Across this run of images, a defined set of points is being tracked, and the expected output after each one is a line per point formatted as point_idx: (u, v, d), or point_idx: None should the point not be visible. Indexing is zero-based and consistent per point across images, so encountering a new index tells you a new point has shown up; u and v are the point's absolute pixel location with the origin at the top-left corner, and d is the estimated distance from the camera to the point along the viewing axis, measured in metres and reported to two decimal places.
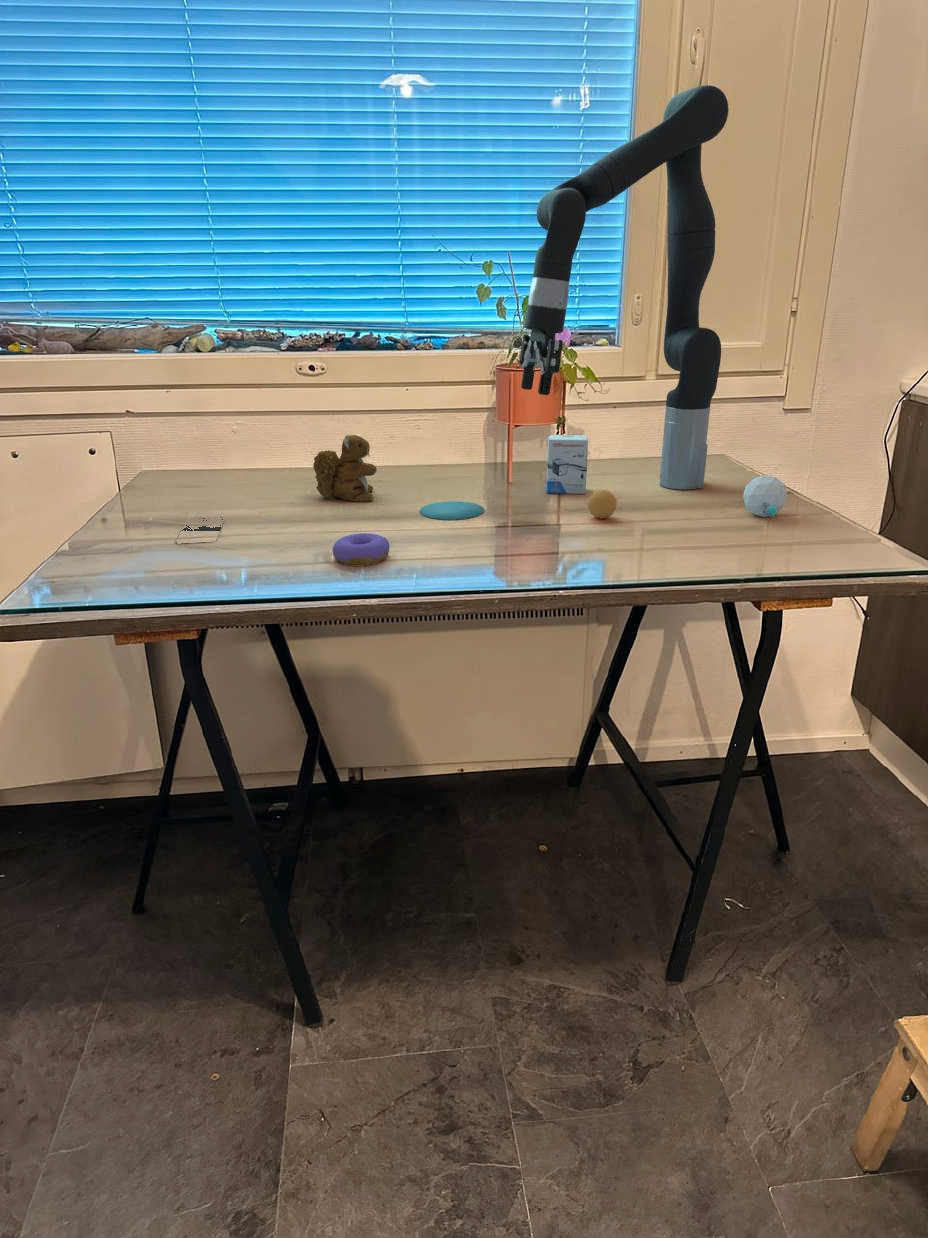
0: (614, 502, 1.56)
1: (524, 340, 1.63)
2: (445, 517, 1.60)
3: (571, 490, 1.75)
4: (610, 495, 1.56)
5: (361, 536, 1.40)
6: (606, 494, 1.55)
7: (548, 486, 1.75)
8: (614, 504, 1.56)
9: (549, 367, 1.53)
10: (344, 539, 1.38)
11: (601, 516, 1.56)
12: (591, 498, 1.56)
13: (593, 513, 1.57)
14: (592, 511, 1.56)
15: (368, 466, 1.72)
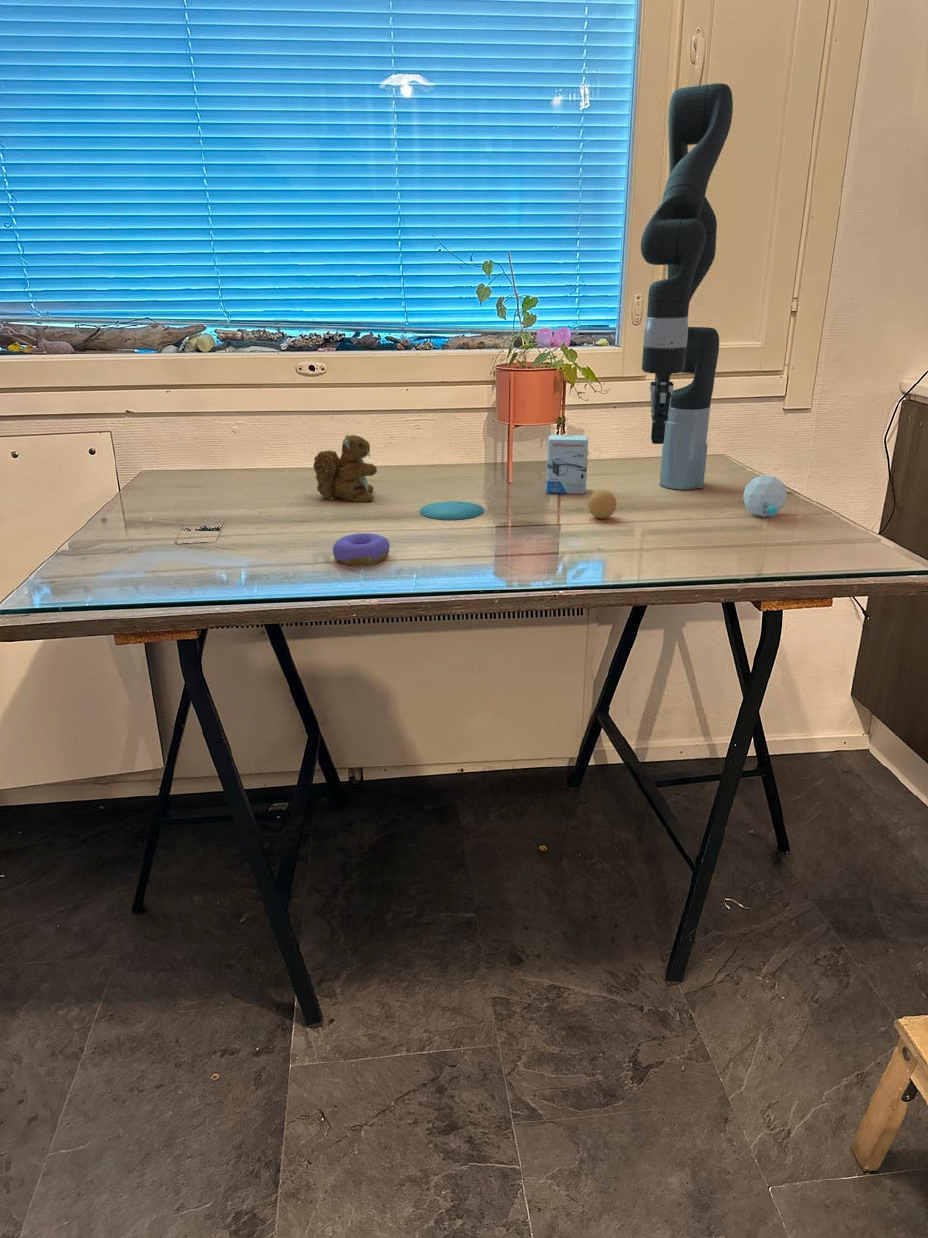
0: (614, 502, 1.56)
1: None
2: (445, 517, 1.60)
3: (571, 490, 1.75)
4: (610, 495, 1.56)
5: (361, 536, 1.40)
6: (606, 494, 1.55)
7: (548, 486, 1.75)
8: (614, 504, 1.56)
9: (655, 416, 1.45)
10: (344, 539, 1.38)
11: (601, 516, 1.56)
12: (591, 498, 1.56)
13: (593, 513, 1.57)
14: (592, 511, 1.56)
15: (368, 466, 1.72)
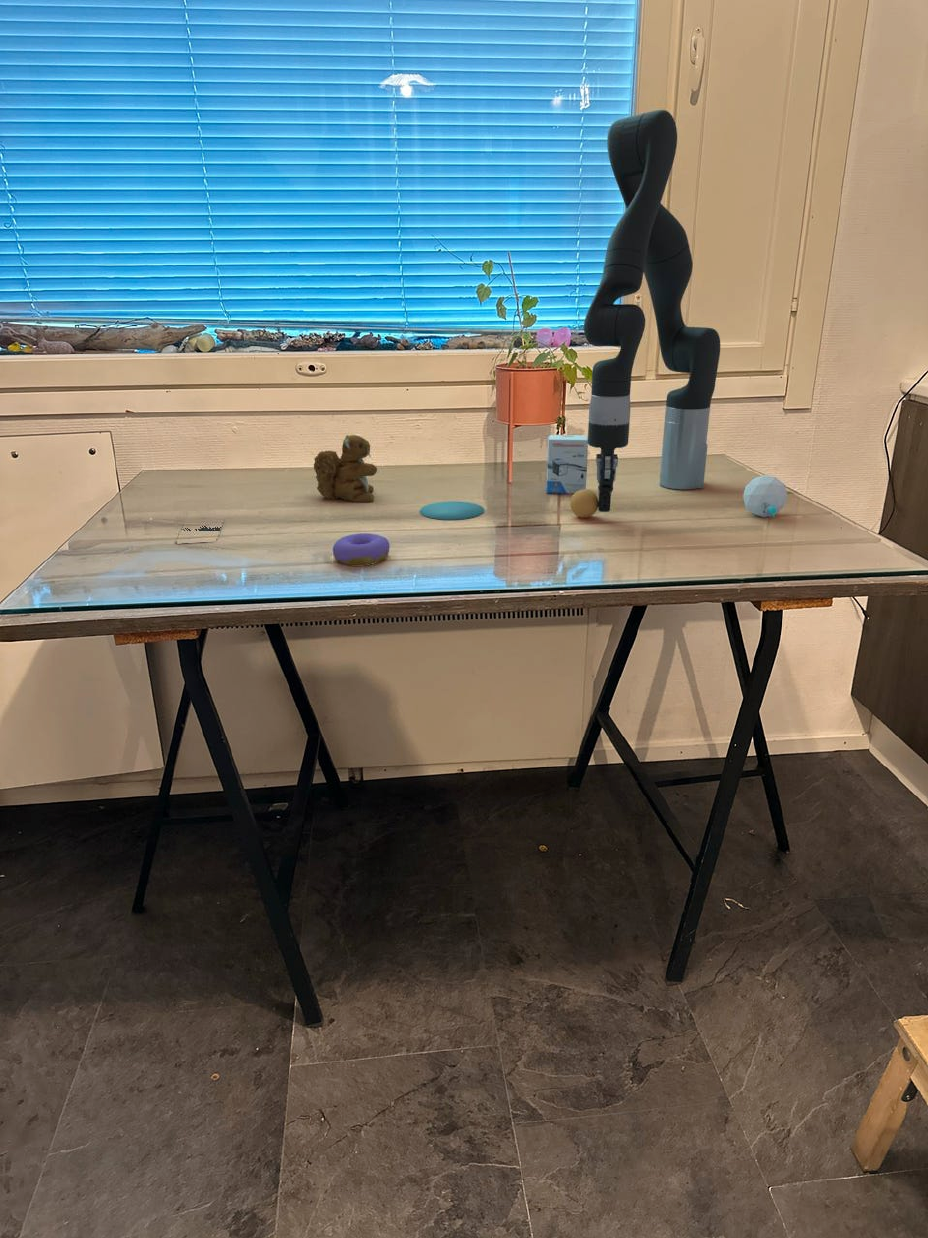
0: (589, 493, 1.56)
1: None
2: (445, 517, 1.60)
3: (571, 490, 1.75)
4: (581, 492, 1.56)
5: (361, 536, 1.40)
6: (577, 493, 1.57)
7: (548, 486, 1.75)
8: (590, 495, 1.56)
9: None
10: (344, 539, 1.38)
11: (590, 512, 1.57)
12: (571, 507, 1.58)
13: (583, 516, 1.57)
14: (580, 515, 1.57)
15: (369, 466, 1.72)
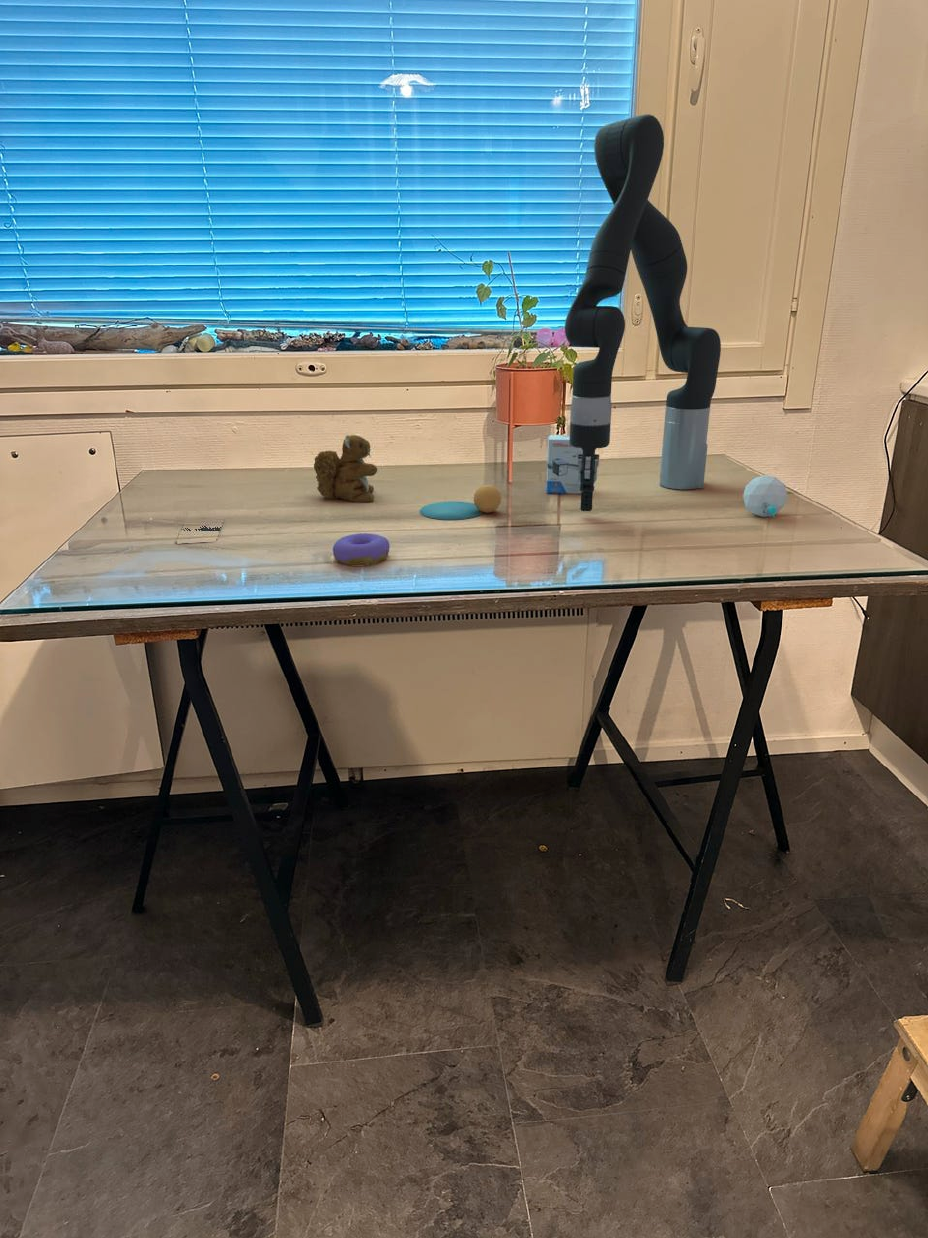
0: (482, 488, 1.61)
1: None
2: (445, 517, 1.60)
3: (571, 490, 1.75)
4: (476, 492, 1.61)
5: (361, 536, 1.40)
6: (474, 495, 1.62)
7: (548, 486, 1.75)
8: (483, 488, 1.61)
9: None
10: (344, 539, 1.38)
11: (494, 501, 1.60)
12: (479, 509, 1.63)
13: (492, 508, 1.61)
14: (490, 509, 1.61)
15: (369, 466, 1.72)
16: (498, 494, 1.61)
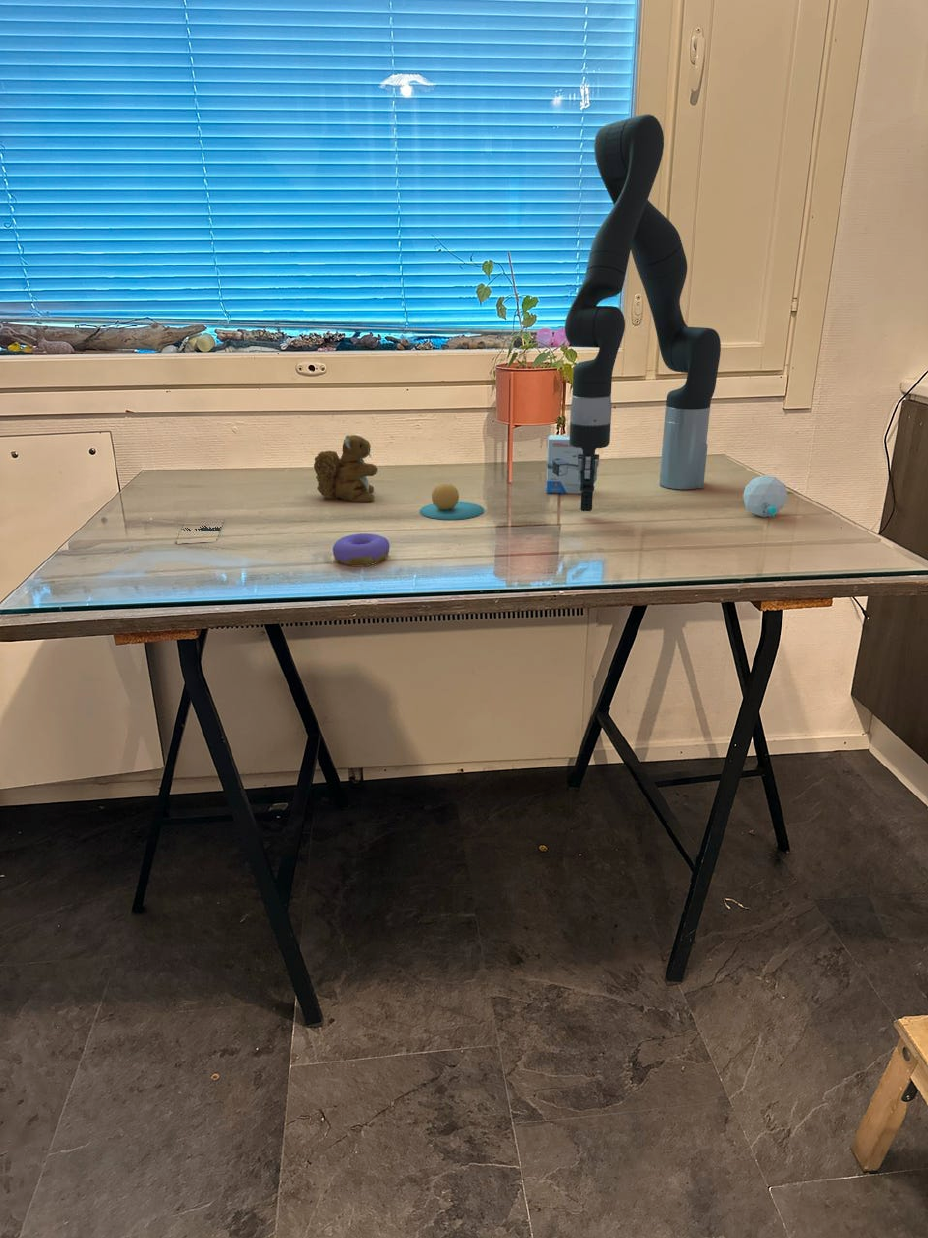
0: (448, 509, 1.64)
1: None
2: (445, 517, 1.60)
3: (571, 490, 1.75)
4: (454, 505, 1.64)
5: (361, 536, 1.40)
6: (455, 502, 1.63)
7: (548, 486, 1.75)
8: (446, 509, 1.64)
9: None
10: (344, 539, 1.38)
11: (433, 499, 1.63)
12: (449, 488, 1.62)
13: (435, 491, 1.63)
14: (437, 490, 1.62)
15: (369, 466, 1.72)
16: None
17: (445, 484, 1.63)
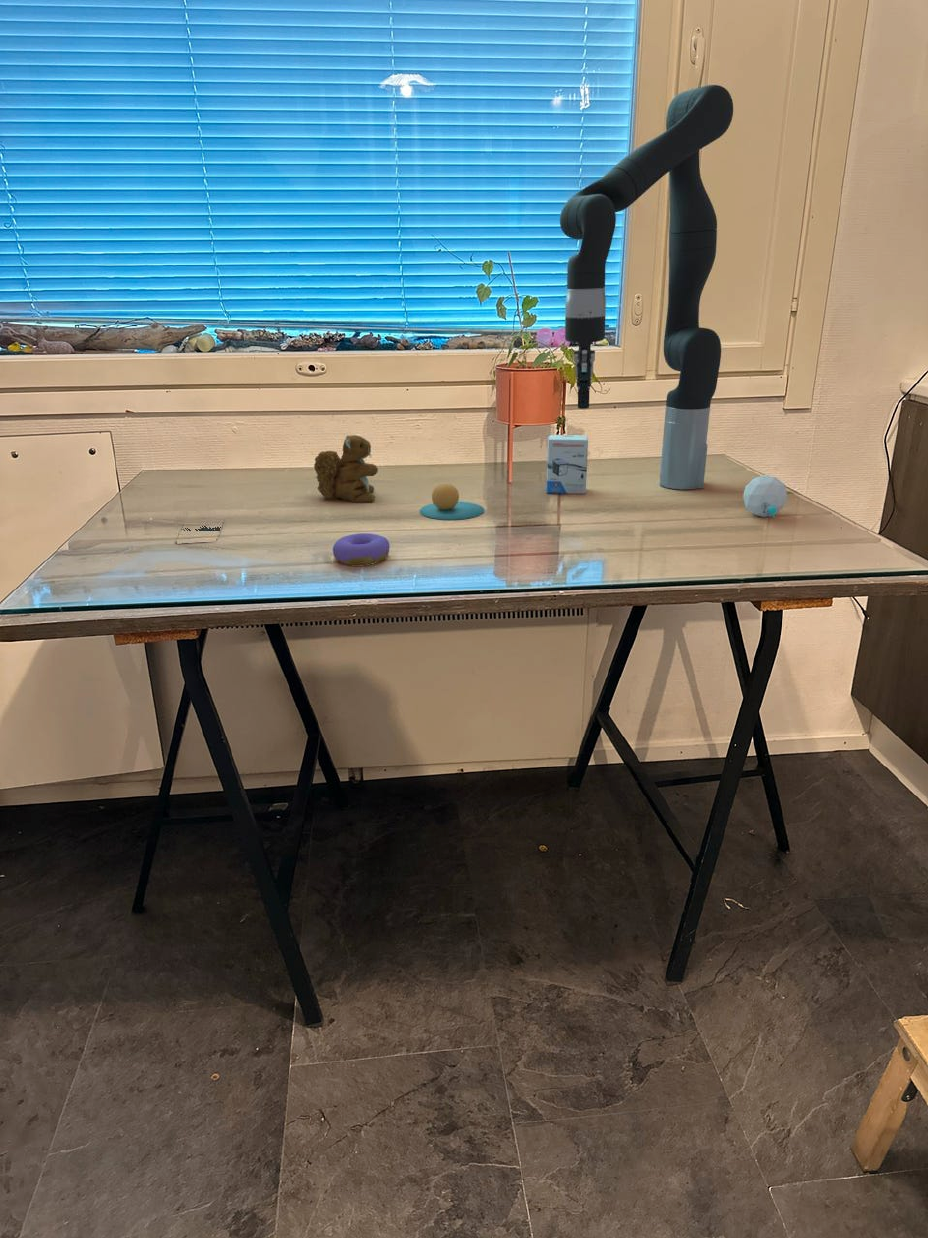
0: (448, 509, 1.64)
1: (578, 359, 1.61)
2: (445, 517, 1.60)
3: (571, 490, 1.75)
4: (454, 505, 1.64)
5: (361, 536, 1.40)
6: (455, 502, 1.63)
7: (548, 486, 1.75)
8: (446, 509, 1.64)
9: None
10: (344, 539, 1.38)
11: (433, 499, 1.63)
12: (449, 488, 1.62)
13: (435, 491, 1.63)
14: (437, 490, 1.62)
15: (369, 466, 1.72)
16: None
17: (445, 484, 1.63)
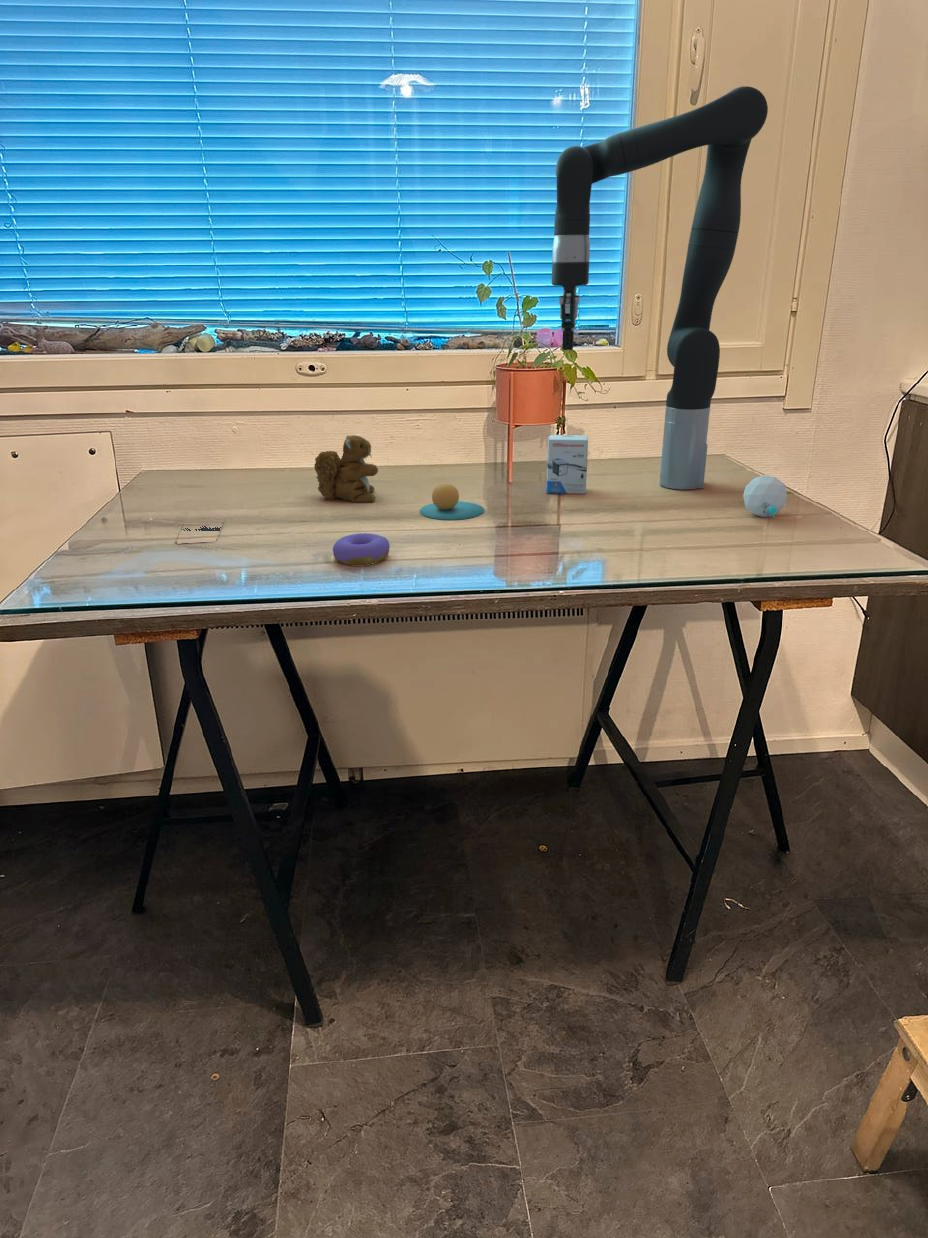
0: (448, 509, 1.64)
1: None
2: (445, 517, 1.60)
3: (571, 490, 1.75)
4: (454, 505, 1.64)
5: (361, 536, 1.40)
6: (455, 502, 1.63)
7: (548, 486, 1.75)
8: (446, 509, 1.64)
9: (563, 324, 1.67)
10: (344, 539, 1.38)
11: (433, 499, 1.63)
12: (449, 488, 1.62)
13: (435, 491, 1.63)
14: (437, 490, 1.62)
15: (370, 466, 1.72)
16: None
17: (445, 484, 1.63)
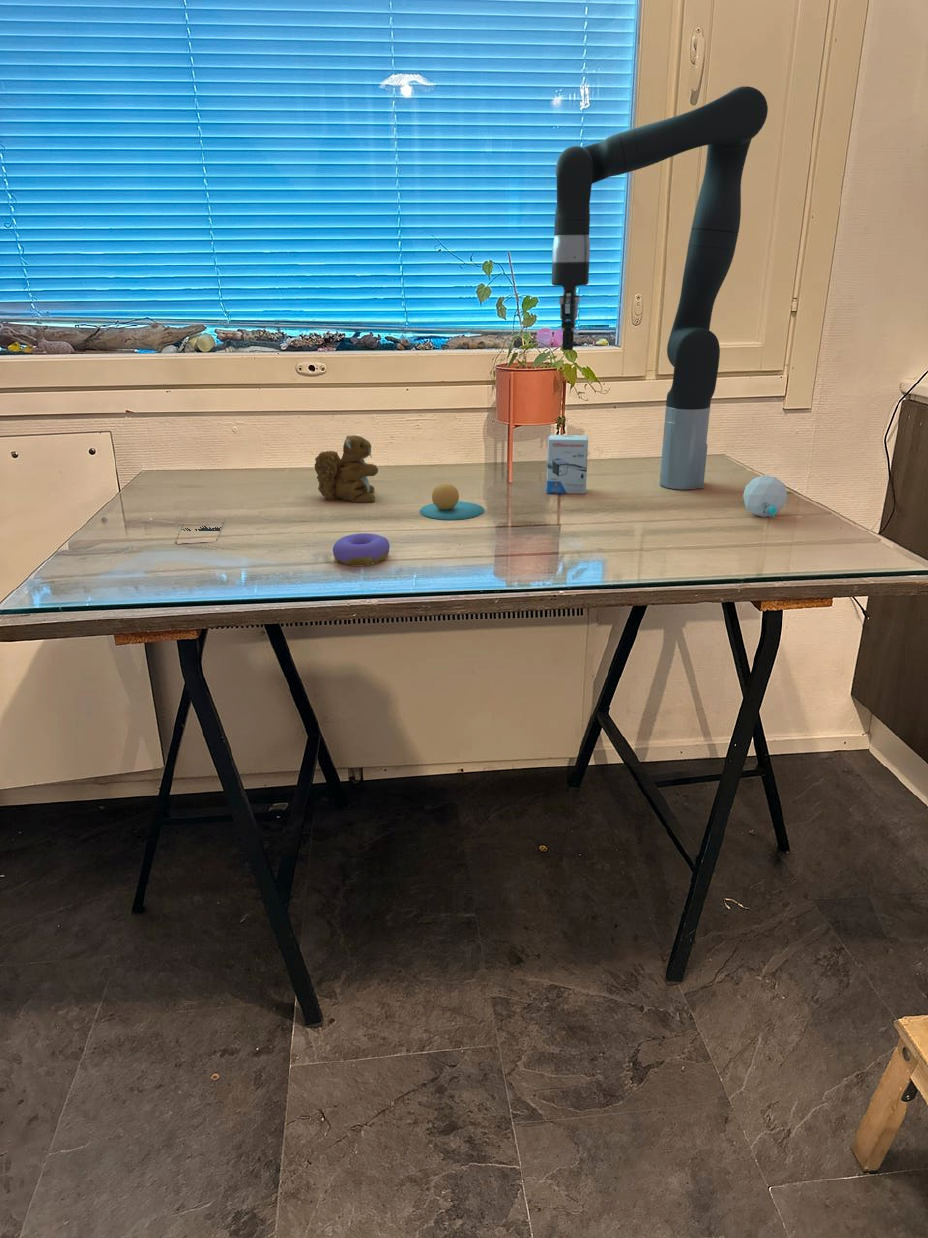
0: (448, 509, 1.64)
1: None
2: (445, 517, 1.60)
3: (571, 490, 1.75)
4: (454, 505, 1.64)
5: (361, 536, 1.40)
6: (455, 502, 1.63)
7: (548, 486, 1.75)
8: (446, 509, 1.64)
9: (563, 324, 1.67)
10: (344, 539, 1.38)
11: (433, 499, 1.63)
12: (449, 488, 1.62)
13: (435, 491, 1.63)
14: (437, 490, 1.62)
15: (370, 466, 1.72)
16: None
17: (445, 484, 1.63)
